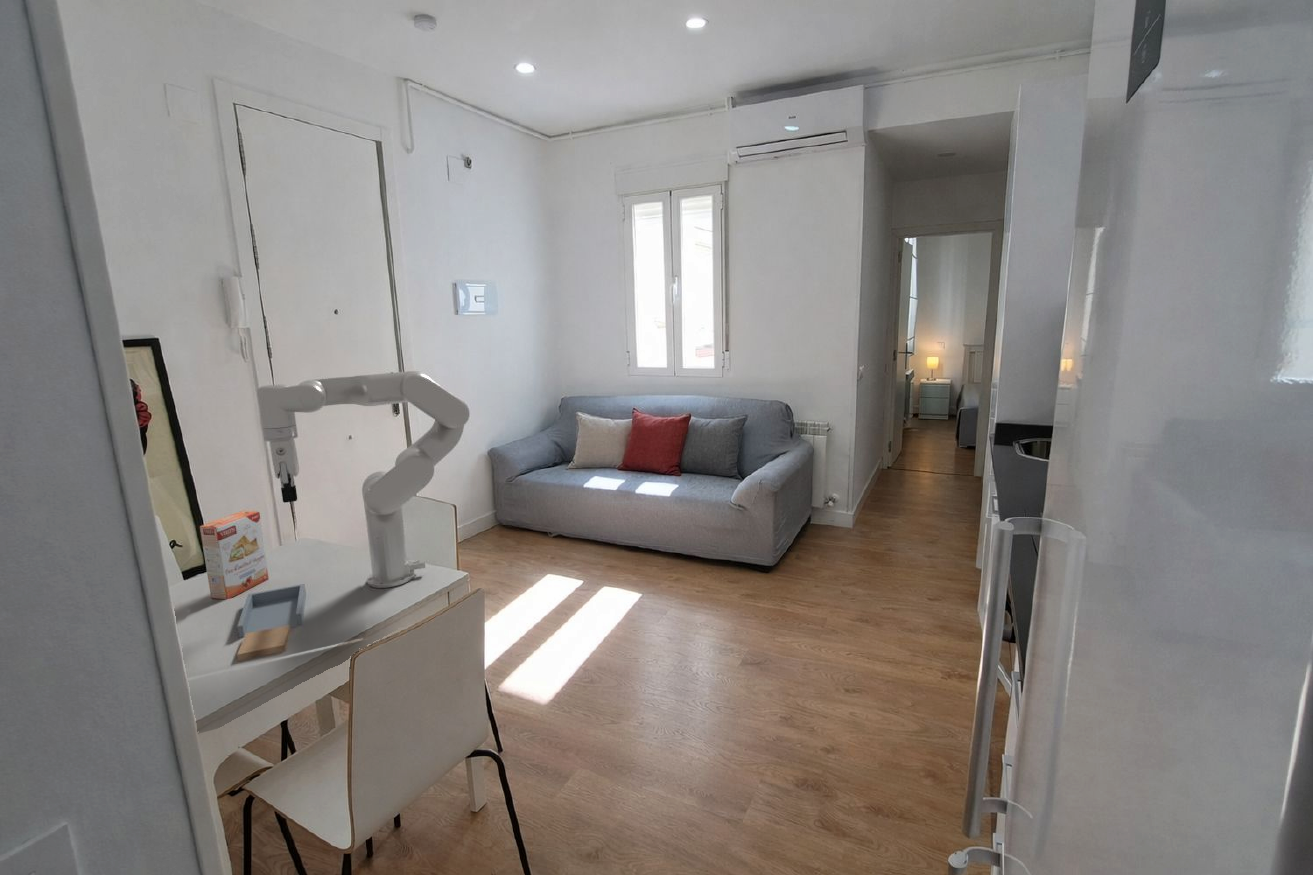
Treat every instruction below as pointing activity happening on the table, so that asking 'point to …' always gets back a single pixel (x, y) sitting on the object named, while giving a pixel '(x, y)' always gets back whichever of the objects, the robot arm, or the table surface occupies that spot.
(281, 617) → the blue-grey open-ended tray
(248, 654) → the tan square slab
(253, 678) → the table surface
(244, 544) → the cracker box
